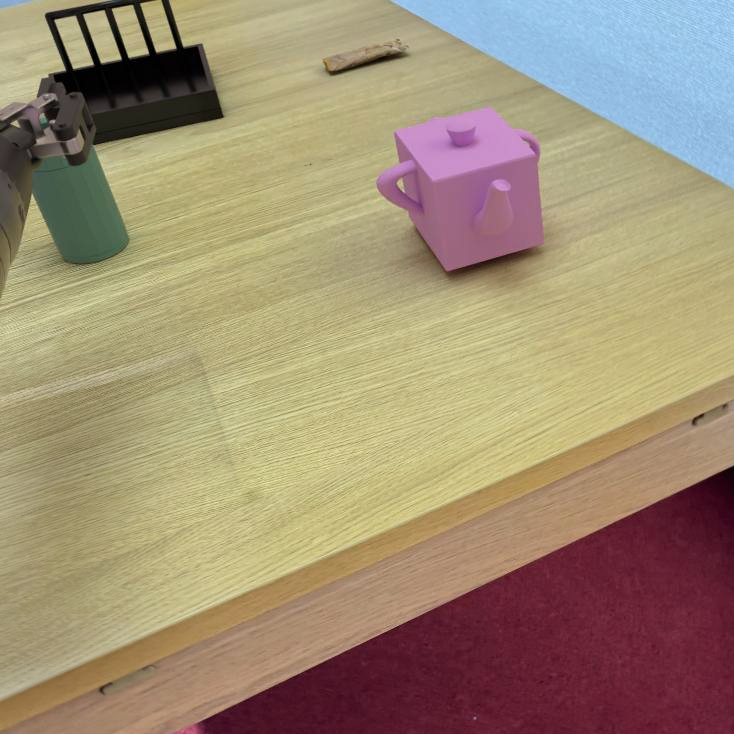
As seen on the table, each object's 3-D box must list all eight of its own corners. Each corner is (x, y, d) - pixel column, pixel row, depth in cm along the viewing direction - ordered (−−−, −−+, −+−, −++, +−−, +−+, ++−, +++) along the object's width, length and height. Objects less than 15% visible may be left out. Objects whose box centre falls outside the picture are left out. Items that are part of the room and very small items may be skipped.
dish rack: (59, 151, 108) (20, 58, 101) (59, 100, 118) (23, 12, 111) (223, 117, 111) (196, 24, 104) (210, 69, 121) (184, -19, 114)
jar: (61, 270, 91) (7, 154, 84) (60, 237, 95) (10, 124, 88) (130, 254, 92) (84, 138, 85) (127, 222, 96) (83, 109, 89)
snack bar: (329, 70, 116) (319, 52, 117) (330, 81, 117) (321, 63, 118) (409, 47, 118) (399, 30, 119) (410, 58, 119) (400, 41, 121)
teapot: (591, 273, 84) (586, 152, 77) (428, 321, 81) (406, 200, 74) (510, 180, 96) (498, 68, 89) (365, 219, 93) (341, 106, 86)
